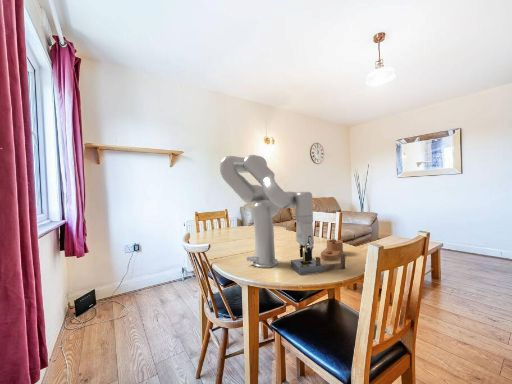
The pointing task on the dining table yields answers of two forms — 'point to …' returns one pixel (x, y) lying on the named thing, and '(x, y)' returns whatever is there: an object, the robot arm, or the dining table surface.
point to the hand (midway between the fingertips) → (305, 258)
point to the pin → (304, 257)
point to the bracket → (332, 250)
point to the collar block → (306, 267)
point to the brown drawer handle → (332, 266)
